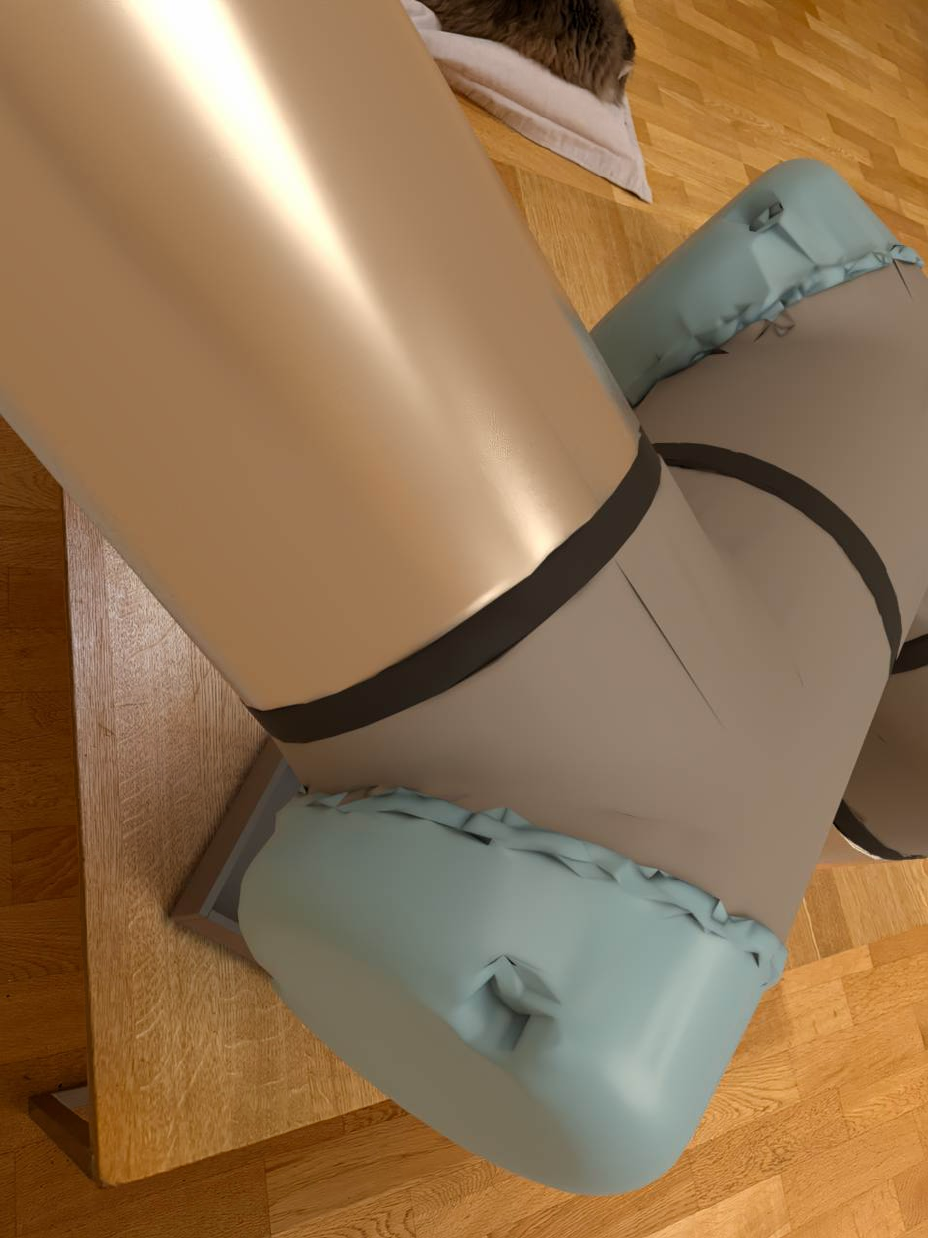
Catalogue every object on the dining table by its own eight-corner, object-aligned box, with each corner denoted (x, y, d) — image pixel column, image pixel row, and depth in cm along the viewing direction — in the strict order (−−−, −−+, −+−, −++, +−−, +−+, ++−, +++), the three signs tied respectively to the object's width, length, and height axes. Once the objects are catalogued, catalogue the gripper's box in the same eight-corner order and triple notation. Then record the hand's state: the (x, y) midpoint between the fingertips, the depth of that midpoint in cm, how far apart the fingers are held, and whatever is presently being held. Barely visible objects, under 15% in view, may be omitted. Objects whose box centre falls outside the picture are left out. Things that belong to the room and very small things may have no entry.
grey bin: (168, 917, 61) (198, 913, 56) (270, 734, 68) (304, 714, 63) (346, 1012, 65) (389, 1016, 60) (424, 829, 72) (468, 819, 67)
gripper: (781, 1147, 28) (425, 1078, 46) (876, 582, 40) (563, 701, 58) (598, 1043, 26) (299, 1013, 44) (756, 477, 38) (469, 634, 56)
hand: (449, 836), depth 51 cm, fingers closed on decorative ball, 10 cm apart
